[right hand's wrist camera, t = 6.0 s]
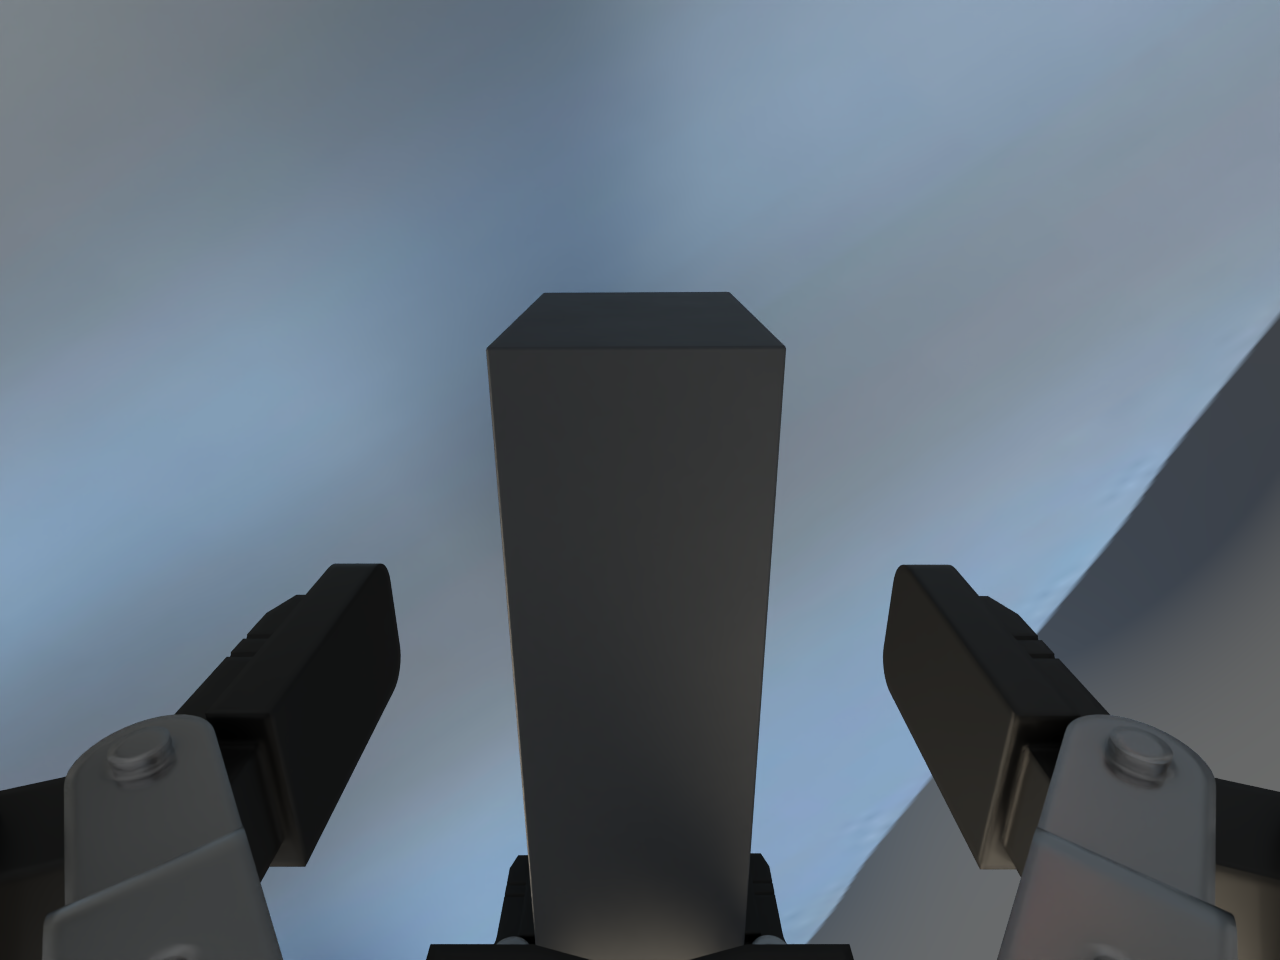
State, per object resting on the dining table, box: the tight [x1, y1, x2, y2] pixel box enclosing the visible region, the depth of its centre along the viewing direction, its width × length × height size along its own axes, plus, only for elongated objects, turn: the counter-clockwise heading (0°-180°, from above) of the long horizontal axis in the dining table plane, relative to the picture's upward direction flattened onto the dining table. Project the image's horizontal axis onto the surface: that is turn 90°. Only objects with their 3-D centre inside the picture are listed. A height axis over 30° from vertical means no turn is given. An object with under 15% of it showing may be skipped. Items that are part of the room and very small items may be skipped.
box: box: [486, 292, 786, 960], centre depth 22 cm, size 22×6×9 cm, turn 0°
